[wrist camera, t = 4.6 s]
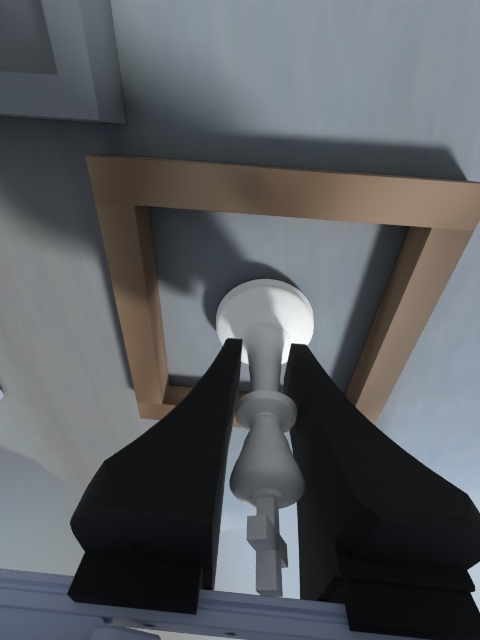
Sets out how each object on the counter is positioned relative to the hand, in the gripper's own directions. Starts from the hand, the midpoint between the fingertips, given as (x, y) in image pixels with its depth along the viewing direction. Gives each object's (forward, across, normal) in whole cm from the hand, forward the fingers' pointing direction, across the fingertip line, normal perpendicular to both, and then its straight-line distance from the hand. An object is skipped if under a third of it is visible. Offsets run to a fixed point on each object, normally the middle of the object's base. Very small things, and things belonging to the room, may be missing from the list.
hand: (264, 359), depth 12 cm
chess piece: (+3, 0, 0) cm, 3 cm away
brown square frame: (+3, 0, 0) cm, 3 cm away
